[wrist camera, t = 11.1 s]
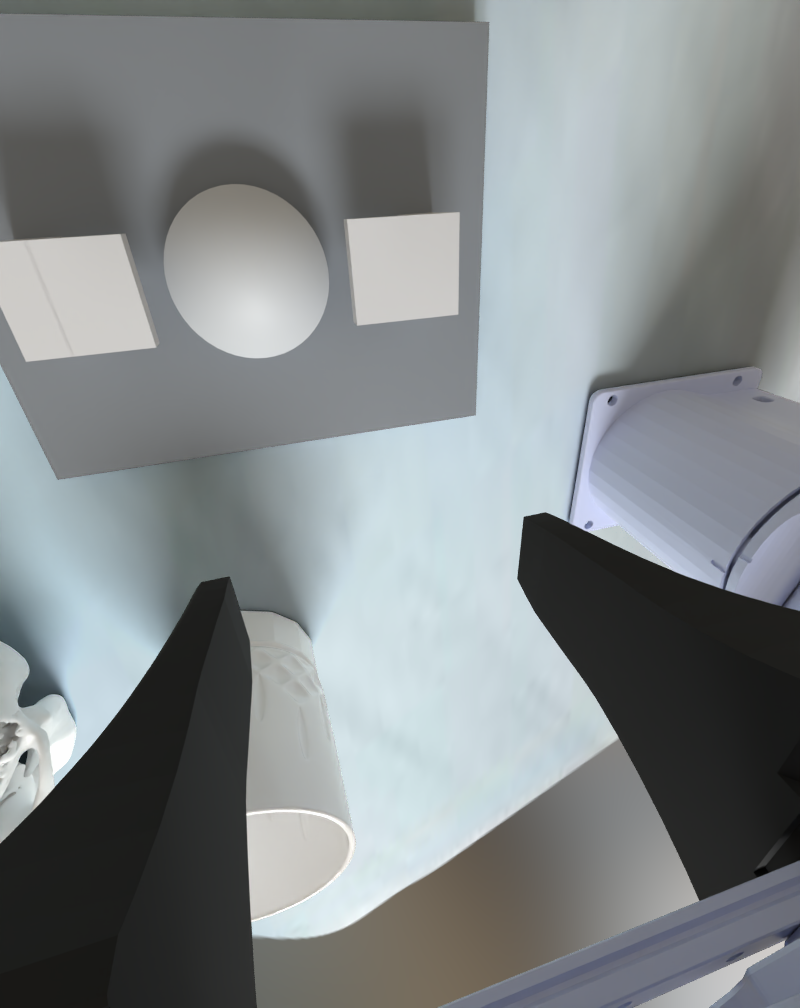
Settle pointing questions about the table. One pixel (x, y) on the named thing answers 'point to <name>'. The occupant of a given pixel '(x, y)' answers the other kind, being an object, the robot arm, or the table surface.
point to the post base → (237, 230)
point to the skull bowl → (28, 743)
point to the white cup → (291, 773)
